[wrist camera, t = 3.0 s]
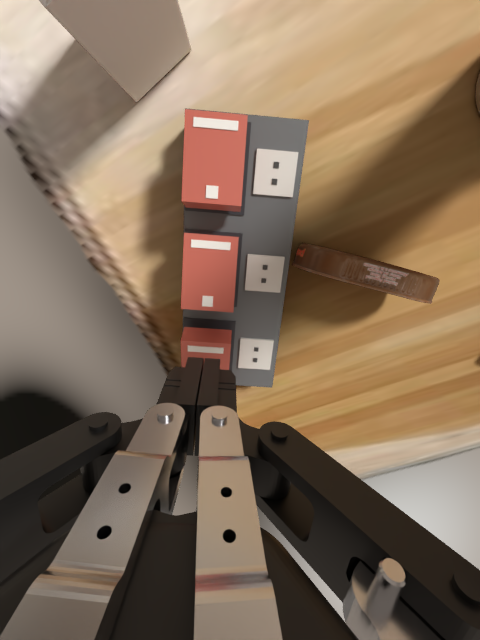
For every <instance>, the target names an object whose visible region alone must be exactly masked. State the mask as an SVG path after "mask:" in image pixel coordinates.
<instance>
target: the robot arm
mask: <svg viewBox="0 0 480 640" xmlns="http://www.w3.org/2000/svg"><path fill="white" fill-rule="evenodd" d="M476 103H477V109H478V111H479V114H480V72H479V75H478V80H477V84H476ZM194 445H195V456H199V457H198V474H197V502H196V512H193V513H188V514H184V515H179V516H174V515H172V513H173V510H174V506H175V503H176V499H177V495H178V491H179V488H180V484H181V480H182V476H183V468H184V465H185V462H186V456H187V455H193V451H194ZM79 468H81V474H80V475H78V476H77V477H75V478H74V479H72V480H71V481H69V482H67V483H66V484H64V485H63V486H61V487H60V488H58V489H57V490H55V491H53V492H52V493H50V494H48V495H47V496H45V497H44V498H42V499H41V500H39V498H40V496H41V495H42V493H43V492H44V491H45V490H46V489H47V488H49V487H50V486H52V485H53V484H55V483H57V482H58V481H60V480H61V479H63V478H65V477H66V476H68V475H70V474H71V473H73V472H74V471H76V470H78V469H79ZM38 500H39V501H38ZM256 505H257V506H258V507H259V508H260V510H261V511H262V512H263V513H264V514H265V515H266V516H267V518H268V519H269V520H270V521H271V522H272V523H273V524H274V525H275V527H276V528H277V529H278V530H279V531H280V532H281V533H282V534H283V535H284V537H285V538H286V539H287V540H288V541H289V542H290V543H291V545H292V546H293V547H294V548H295V549H296V550H297V551H298V552H299V554H300V555H301V556H302V557H303V558H304V559H305V560H306V561H307V563H308V564H309V565H310V566H311V567H312V568H313V569H314V571H315V572H316V573H317V574H318V575H319V576H320V577H321V579H322V580H323V581H324V582H325V583H326V584H327V585H328V586H329V588H330V589H331V590H332V591H333V592H334V593H335V594H336V595H337V597H338V598H339V599H340V600H341V601H342V602H343V613H344V618H345V622H346V623H345V622H344V621H343V619H342V618H341V617H340V616H339V614H338V613H337V612H336V611H335V609H334V608H333V607H332V606H331V605H330V603H329V602H328V601H327V600H326V598H325V597H324V596H323V595H322V593H321V592H320V591H319V590H318V588H317V587H316V586H315V585H314V583H313V582H312V581H311V580H310V578H308V576H307V575H306V574H305V572H304V571H303V570H302V569H301V567H300V566H299V565H298V564H297V562H296V561H295V560H294V559H293V558H292V556H291V555H290V554H289V553H288V551H287V550H286V549H285V548H284V547H283V545H282V544H281V543H280V542H279V541H278V540H277V539H276V538H275V537H274V536H272V535H271V534H270V533H269V532H267V531H266V530H264V529H262V528H261V527H260V525H259V518H258V513H257V506H256ZM0 640H480V570H479V569H477V568H476V567H475V566H474V565H472V564H471V563H470V562H468V561H467V560H466V559H464V558H463V557H462V556H460V555H459V554H458V553H456V552H455V551H454V550H452V549H451V548H450V547H449V546H447V545H446V544H445V543H443V542H442V541H441V540H439V539H438V538H437V537H435V536H434V535H433V534H432V533H430V532H429V531H428V530H426V529H425V528H424V527H422V526H421V525H419V524H418V523H417V522H416V521H414V520H413V519H412V518H410V517H409V516H408V515H407V514H405V513H404V512H403V511H401V510H400V509H399V508H397V507H396V506H395V505H393V504H392V503H391V502H389V501H388V500H387V499H386V498H384V497H383V496H382V495H380V494H379V493H378V492H376V491H375V490H374V489H372V488H371V487H370V486H368V485H367V484H366V483H365V482H363V481H362V480H361V479H359V478H358V477H357V476H355V475H354V474H353V473H351V472H350V471H349V470H347V469H346V468H345V467H343V466H342V465H341V464H340V463H338V462H337V461H336V460H334V459H333V458H332V457H330V456H329V455H328V454H326V453H325V452H324V451H322V450H321V449H320V448H319V447H317V446H316V445H315V444H313V443H312V442H311V441H309V440H308V439H307V438H305V437H304V436H303V435H301V434H300V433H299V432H298V431H296V430H295V429H294V428H292V427H291V426H289V425H287V424H285V423H281V422H268V423H266V424H264V425H263V426H262V427H261V428H260V429H257V428H254V427H251V426H249V425H247V424H245V423H243V422H242V421H241V420H240V419H239V417H238V415H237V406H236V376H235V375H234V374H233V372H232V371H231V370H221V369H220V359H214V358H205V361H204V358H197V357H188V359H187V362H186V366H185V367H175V368H173V369H172V370H171V371H170V372H169V373H168V376H167V378H166V381H165V384H164V387H163V389H162V391H161V394H160V397H159V399H158V402H157V405H155V406H153V407H151V408H150V409H149V410H148V411H147V412H146V414H145V416H144V418H143V419H140V420H137V421H132V422H127V423H121V420H120V418H119V417H118V416H117V415H116V414H113V413H108V412H102V413H96V414H93V415H90V416H88V417H86V418H84V419H82V420H80V421H78V422H75V423H74V424H71V425H69V426H67V427H65V428H64V429H61V430H59V431H57V432H55V433H53V434H51V435H49V436H47V437H45V438H43V439H41V440H39V441H37V442H35V443H33V444H31V445H29V446H27V447H25V448H23V449H21V450H19V451H17V452H15V453H13V454H11V455H9V456H7V457H5V458H2V459H0Z"/></svg>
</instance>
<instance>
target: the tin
mask: <svg viewBox="0 0 480 640" xmlns="http://www.w3.org/2000/svg"><path fill="white" fill-rule="evenodd" d="M292 265H293V266H295V267H297V268H300V269H303V270H306V271H308V272H312V273H315V274H318V275H321V276H325V277H328V278H332V279H335V280H339V281H343V282H346V283H350V284H354V285H358V286H362V287H366V288H370V289H373V290H377V291H381V292H385V293H389V294H392V295H396V296H400V297H404V298H407V299H411V300H415V301H419V302H424V303H430V304H431V303H432V298H433V296H434V294H435V292H436V290H437V287H438V285H439V279H438V278H436V277H433V276H429V275H426V274H423V273H419V272H416V271H412V270H409V269H405V268H401V267H398V266H394V265H391V264H387V263H384V262H380V261H376V260H372V259H368V258H365V257H361V256H357V255H353V254H349V253H345V252H341V251H337V250H333V249H329V248H325V247H321V246H316V245H310V244H306V243H301V244H300V245H299V247H298V249H297V253H296V256H295V259H294V262H293V263H292Z"/></svg>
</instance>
